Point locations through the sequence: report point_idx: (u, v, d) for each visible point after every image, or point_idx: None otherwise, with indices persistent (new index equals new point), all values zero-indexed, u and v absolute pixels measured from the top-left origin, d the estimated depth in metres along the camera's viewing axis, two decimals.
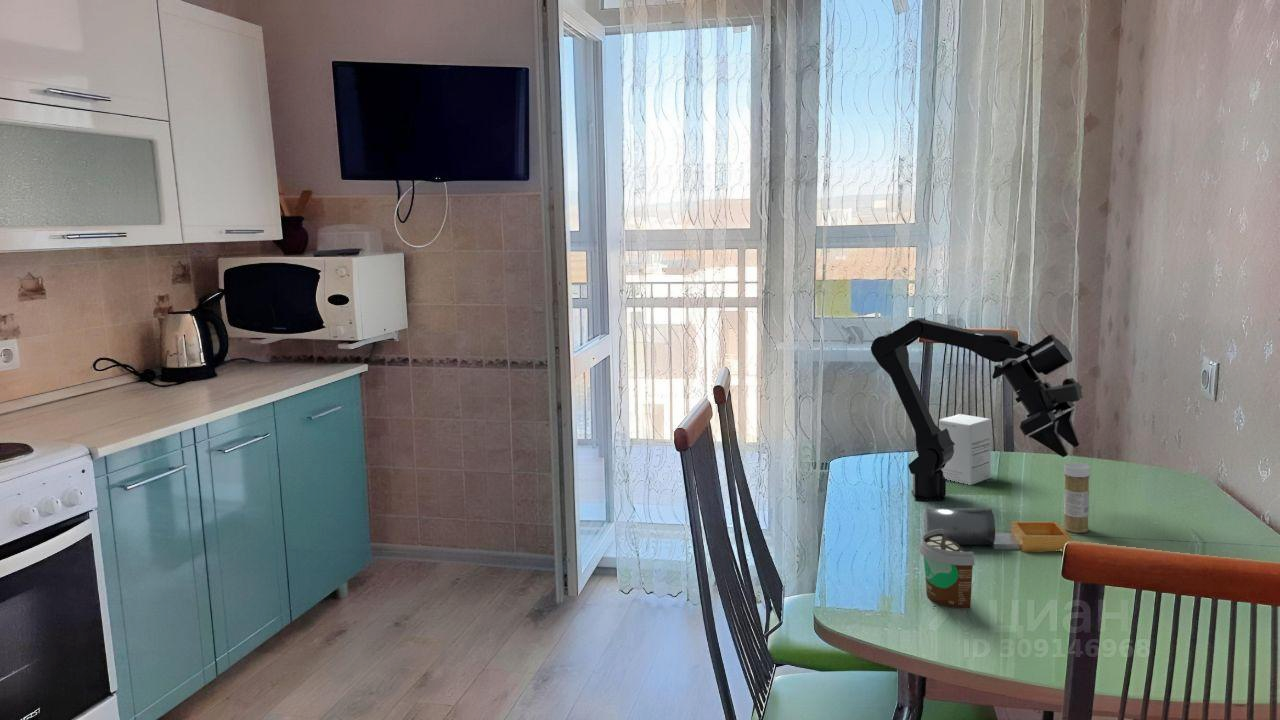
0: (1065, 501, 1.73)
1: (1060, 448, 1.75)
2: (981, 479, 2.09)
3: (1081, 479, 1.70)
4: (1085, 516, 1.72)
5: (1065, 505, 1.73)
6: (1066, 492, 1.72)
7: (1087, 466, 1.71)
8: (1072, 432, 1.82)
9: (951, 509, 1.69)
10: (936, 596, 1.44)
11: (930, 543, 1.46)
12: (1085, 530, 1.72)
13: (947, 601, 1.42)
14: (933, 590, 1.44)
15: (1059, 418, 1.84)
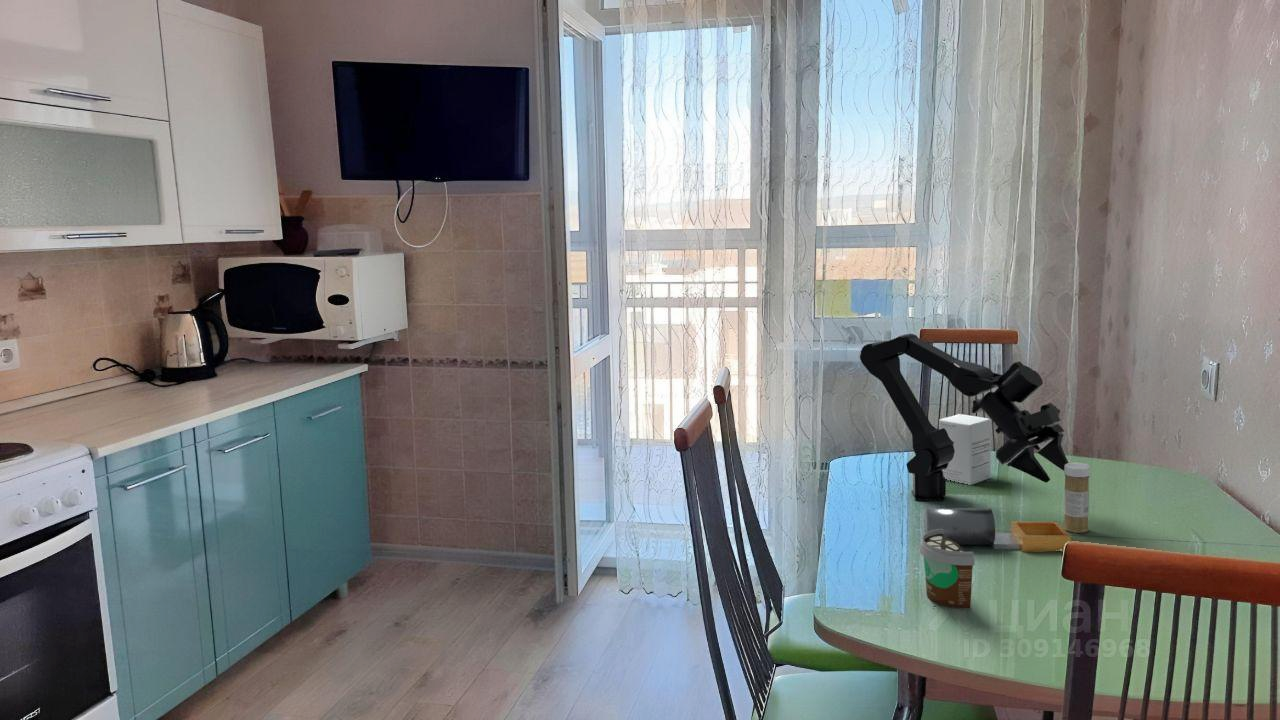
0: (1065, 501, 1.73)
1: (1041, 473, 1.72)
2: (981, 479, 2.09)
3: (1081, 479, 1.70)
4: (1085, 516, 1.72)
5: (1065, 505, 1.73)
6: (1066, 492, 1.72)
7: (1087, 466, 1.71)
8: (1062, 458, 1.79)
9: (951, 509, 1.69)
10: (936, 596, 1.44)
11: (930, 543, 1.46)
12: (1085, 530, 1.72)
13: (947, 601, 1.42)
14: (933, 590, 1.44)
15: (1048, 445, 1.81)
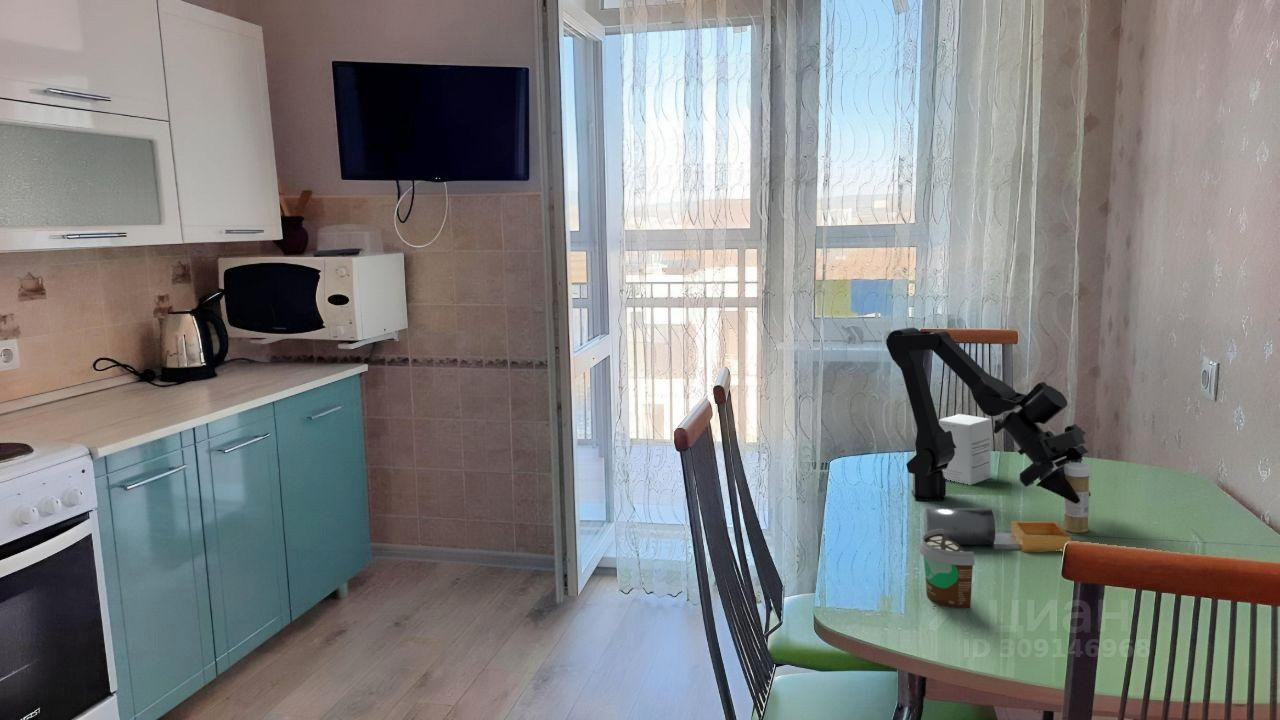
0: (1065, 501, 1.73)
1: (1071, 494, 1.71)
2: (981, 479, 2.09)
3: (1081, 479, 1.70)
4: (1085, 516, 1.72)
5: (1065, 505, 1.73)
6: None
7: (1087, 466, 1.71)
8: None
9: (951, 509, 1.69)
10: (936, 596, 1.44)
11: (930, 543, 1.46)
12: (1085, 530, 1.72)
13: (947, 601, 1.42)
14: (933, 590, 1.44)
15: None
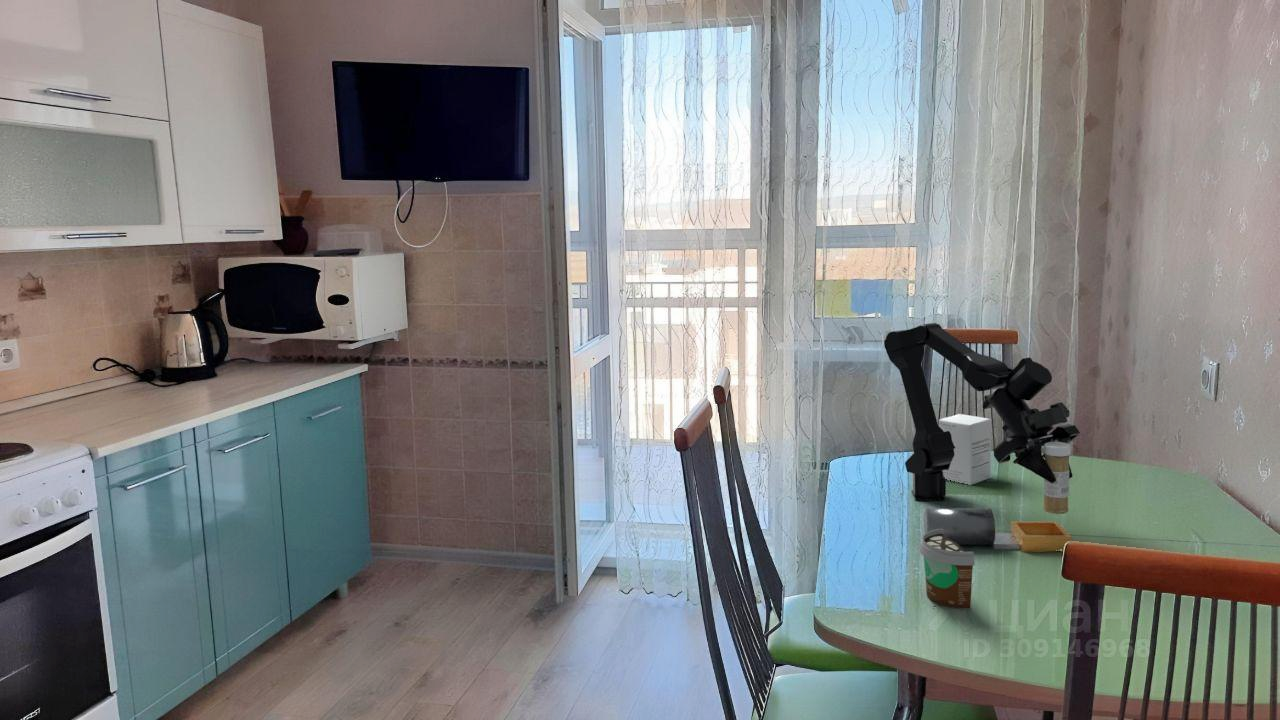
0: (1044, 480, 1.69)
1: (1046, 473, 1.66)
2: (981, 479, 2.09)
3: (1059, 458, 1.65)
4: (1063, 497, 1.66)
5: (1044, 485, 1.69)
6: None
7: (1066, 445, 1.65)
8: None
9: (951, 509, 1.69)
10: (936, 596, 1.44)
11: (930, 543, 1.46)
12: (1063, 511, 1.67)
13: (947, 601, 1.42)
14: (933, 590, 1.44)
15: None
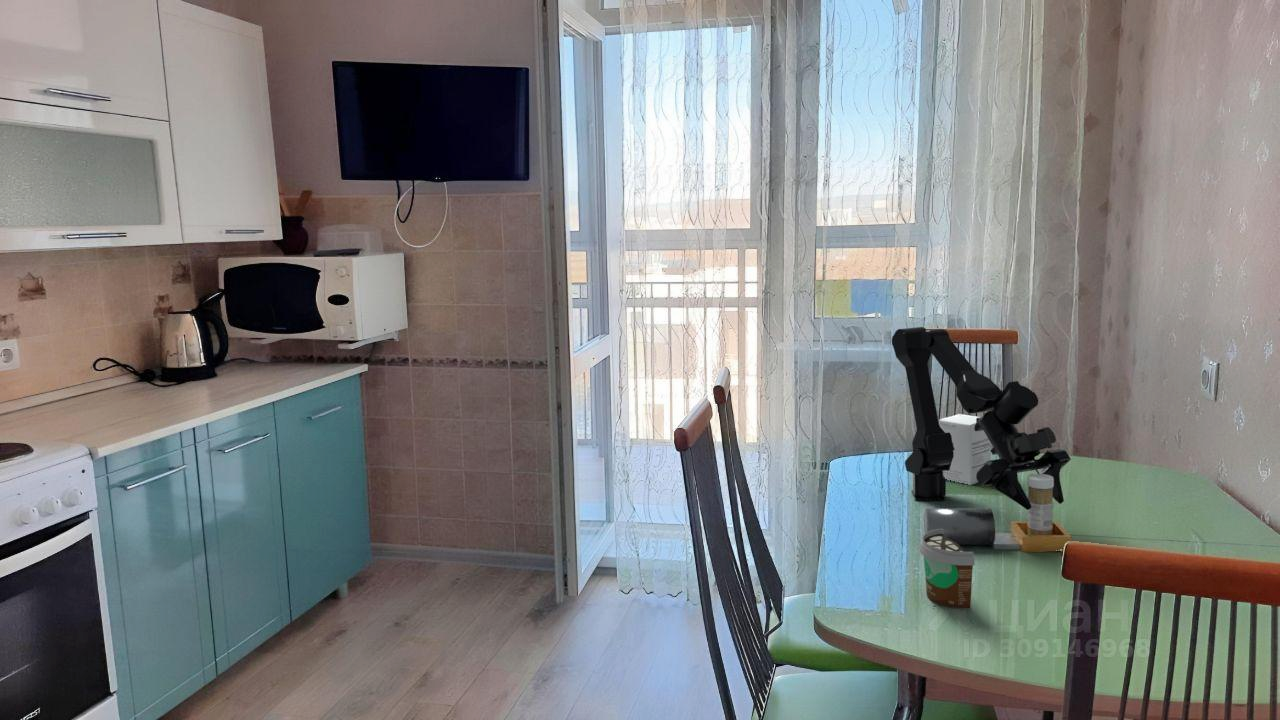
0: (1028, 512, 1.68)
1: (1022, 500, 1.64)
2: None
3: (1040, 490, 1.64)
4: (1045, 530, 1.65)
5: (1028, 516, 1.68)
6: None
7: (1049, 478, 1.64)
8: (1056, 487, 1.67)
9: (951, 509, 1.69)
10: (936, 596, 1.44)
11: (930, 543, 1.46)
12: None
13: (947, 601, 1.42)
14: (933, 590, 1.44)
15: (1045, 473, 1.70)
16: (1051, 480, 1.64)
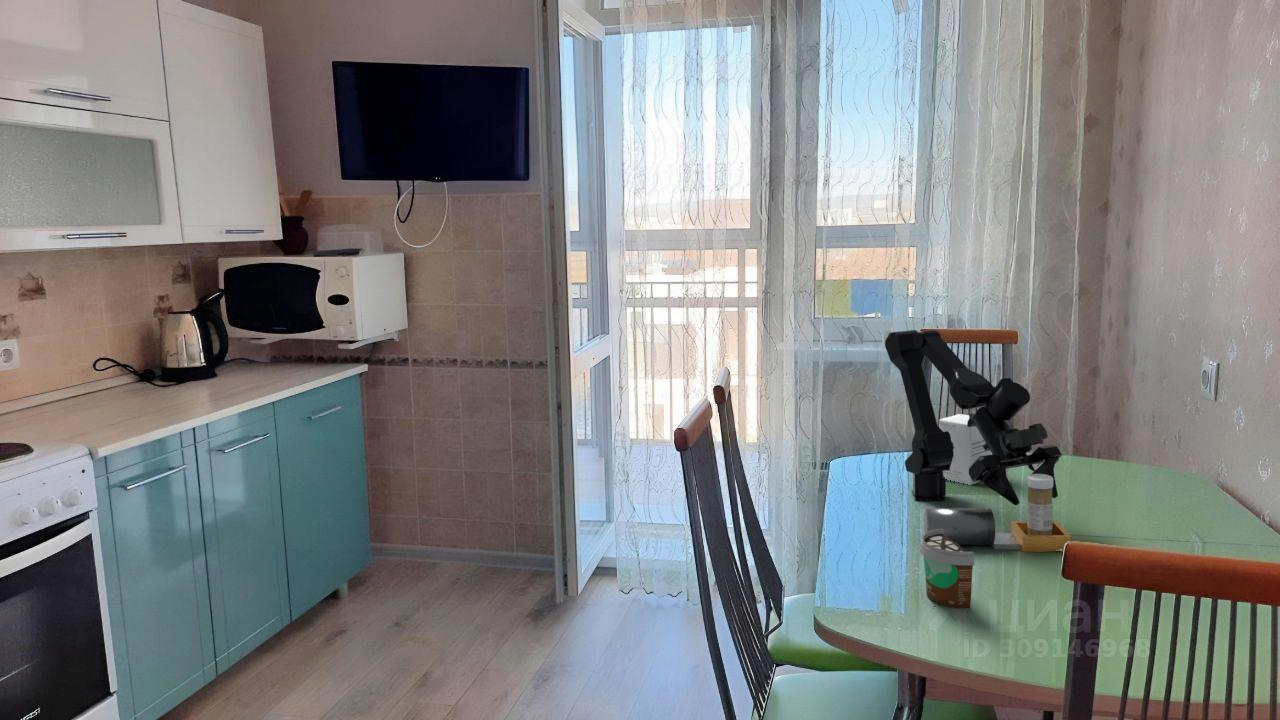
0: (1027, 513, 1.68)
1: (1010, 495, 1.66)
2: None
3: (1040, 491, 1.64)
4: (1045, 530, 1.65)
5: (1027, 517, 1.68)
6: (1027, 503, 1.67)
7: (1049, 478, 1.64)
8: None
9: (951, 509, 1.69)
10: (936, 596, 1.44)
11: (930, 543, 1.46)
12: None
13: (947, 601, 1.42)
14: (933, 590, 1.44)
15: (1040, 468, 1.72)
16: (1050, 480, 1.64)
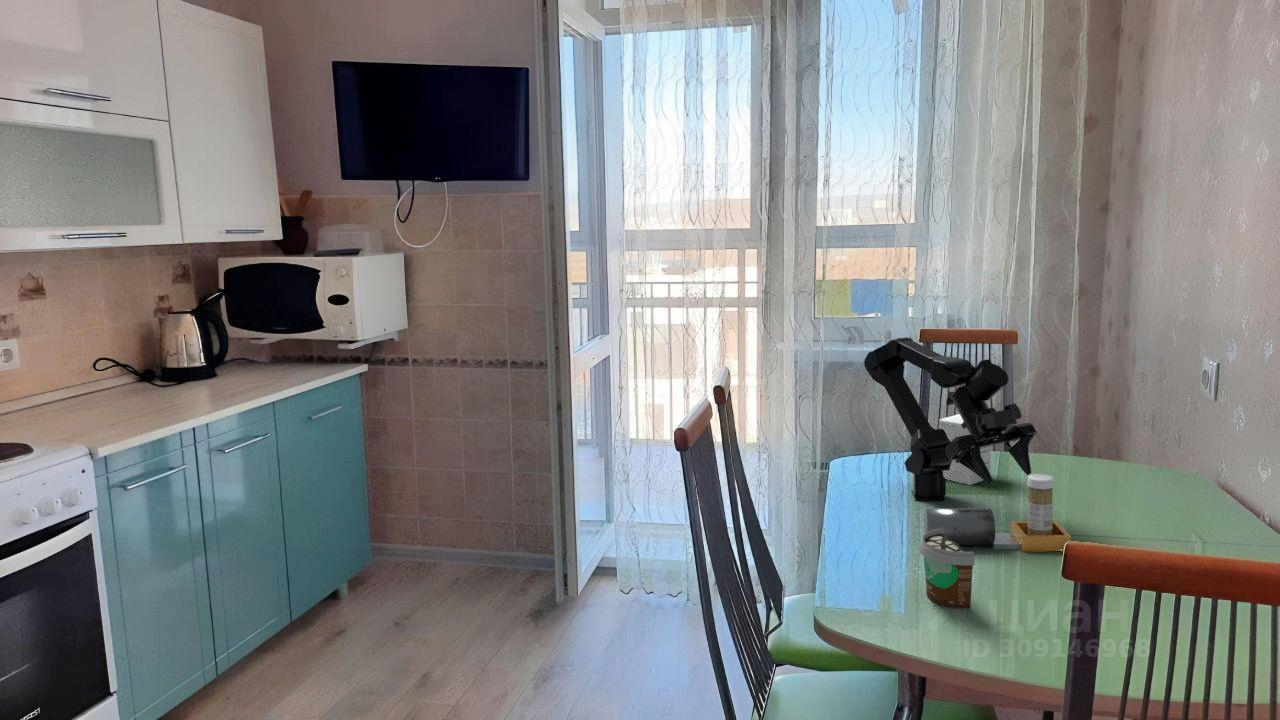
0: (1028, 512, 1.68)
1: (984, 474, 1.74)
2: (981, 479, 2.09)
3: (1040, 491, 1.64)
4: (1045, 530, 1.65)
5: (1027, 518, 1.68)
6: (1028, 503, 1.67)
7: (1049, 478, 1.64)
8: (1024, 459, 1.76)
9: (951, 509, 1.69)
10: (936, 596, 1.44)
11: (930, 543, 1.46)
12: None
13: (947, 601, 1.42)
14: (933, 590, 1.44)
15: (1015, 445, 1.79)
16: (1051, 480, 1.64)
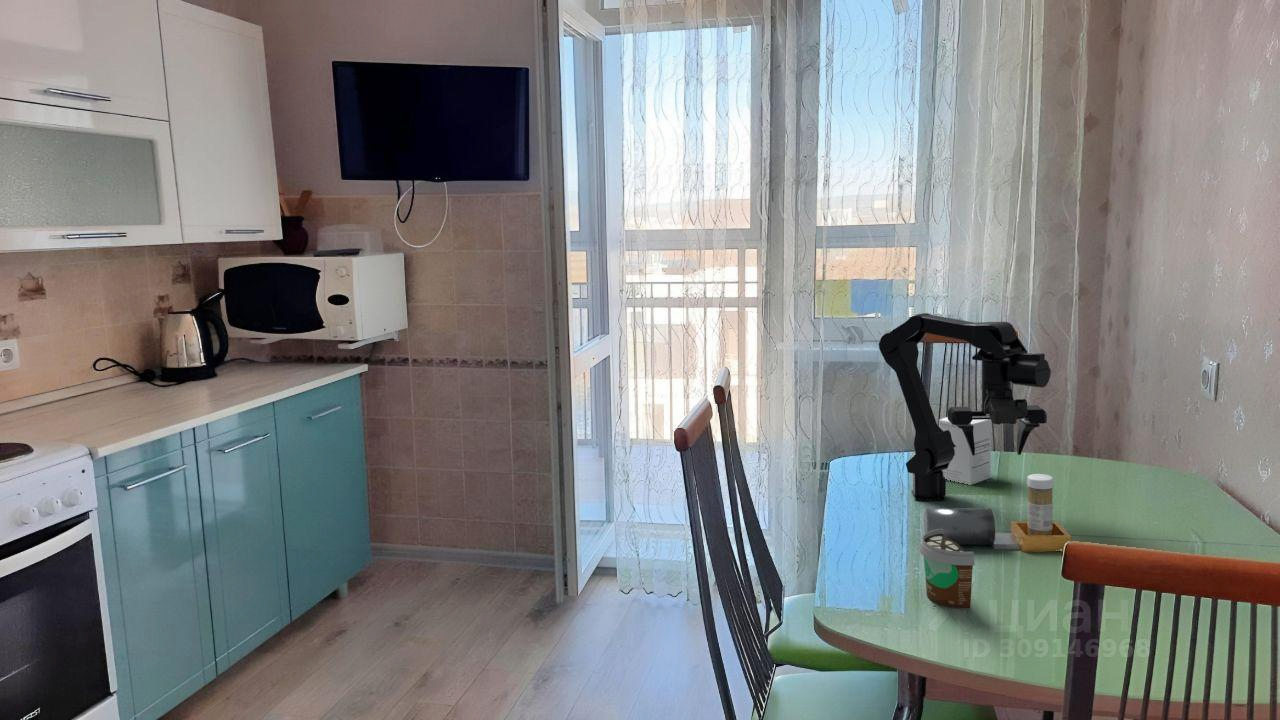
0: (1027, 513, 1.68)
1: (969, 447, 1.84)
2: (981, 479, 2.09)
3: (1040, 491, 1.64)
4: (1045, 530, 1.65)
5: (1027, 517, 1.68)
6: (1028, 503, 1.67)
7: (1049, 478, 1.64)
8: (1019, 442, 1.82)
9: (951, 509, 1.69)
10: (936, 596, 1.44)
11: (930, 543, 1.46)
12: None
13: (947, 601, 1.42)
14: (933, 590, 1.44)
15: (1021, 424, 1.82)
16: (1051, 480, 1.64)
